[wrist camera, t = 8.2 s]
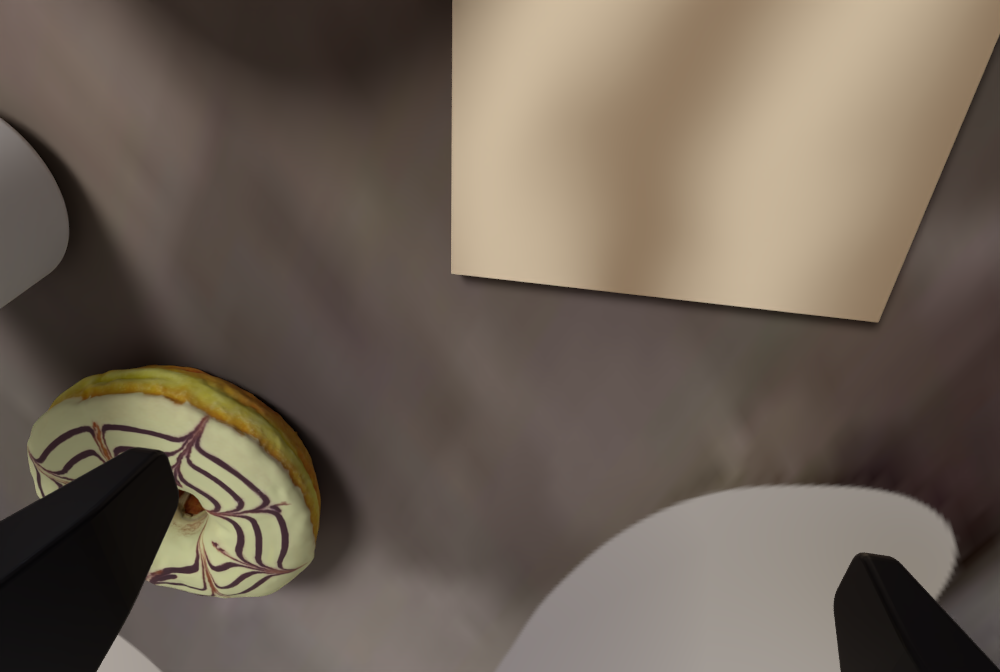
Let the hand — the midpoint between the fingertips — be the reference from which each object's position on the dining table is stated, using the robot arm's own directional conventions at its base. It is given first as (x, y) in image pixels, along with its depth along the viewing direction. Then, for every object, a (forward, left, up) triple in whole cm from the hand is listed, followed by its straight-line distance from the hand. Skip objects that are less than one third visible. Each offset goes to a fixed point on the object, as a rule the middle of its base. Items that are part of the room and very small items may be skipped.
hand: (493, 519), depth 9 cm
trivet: (-3, -3, -12) cm, 13 cm away
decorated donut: (+13, +13, -12) cm, 22 cm away
